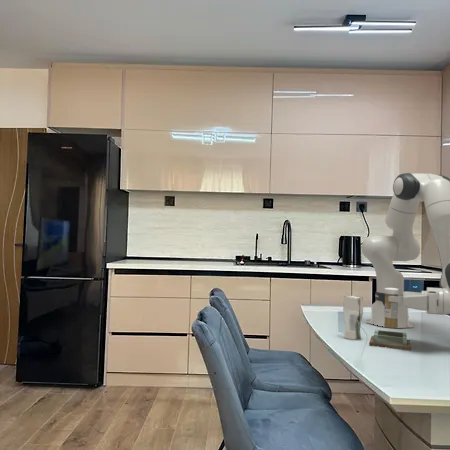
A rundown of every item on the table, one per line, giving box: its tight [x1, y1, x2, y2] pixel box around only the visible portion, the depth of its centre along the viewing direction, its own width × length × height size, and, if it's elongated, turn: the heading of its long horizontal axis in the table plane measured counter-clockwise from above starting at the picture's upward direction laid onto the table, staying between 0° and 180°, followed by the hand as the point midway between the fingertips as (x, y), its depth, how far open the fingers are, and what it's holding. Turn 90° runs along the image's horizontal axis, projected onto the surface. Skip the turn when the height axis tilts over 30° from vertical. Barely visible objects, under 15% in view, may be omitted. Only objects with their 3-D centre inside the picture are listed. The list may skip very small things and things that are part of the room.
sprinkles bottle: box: [384, 288, 398, 329], centre depth 147 cm, size 5×5×13 cm
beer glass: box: [342, 295, 364, 341], centre depth 154 cm, size 7×7×15 cm
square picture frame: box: [368, 329, 412, 351], centre depth 146 cm, size 13×13×4 cm
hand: (388, 297), depth 147 cm, fingers closed on sprinkles bottle, 4 cm apart
